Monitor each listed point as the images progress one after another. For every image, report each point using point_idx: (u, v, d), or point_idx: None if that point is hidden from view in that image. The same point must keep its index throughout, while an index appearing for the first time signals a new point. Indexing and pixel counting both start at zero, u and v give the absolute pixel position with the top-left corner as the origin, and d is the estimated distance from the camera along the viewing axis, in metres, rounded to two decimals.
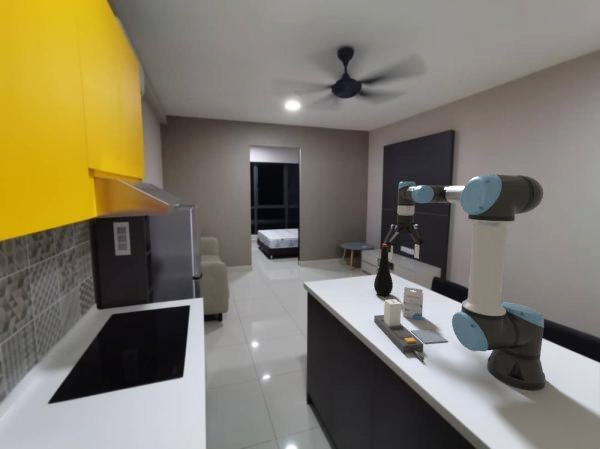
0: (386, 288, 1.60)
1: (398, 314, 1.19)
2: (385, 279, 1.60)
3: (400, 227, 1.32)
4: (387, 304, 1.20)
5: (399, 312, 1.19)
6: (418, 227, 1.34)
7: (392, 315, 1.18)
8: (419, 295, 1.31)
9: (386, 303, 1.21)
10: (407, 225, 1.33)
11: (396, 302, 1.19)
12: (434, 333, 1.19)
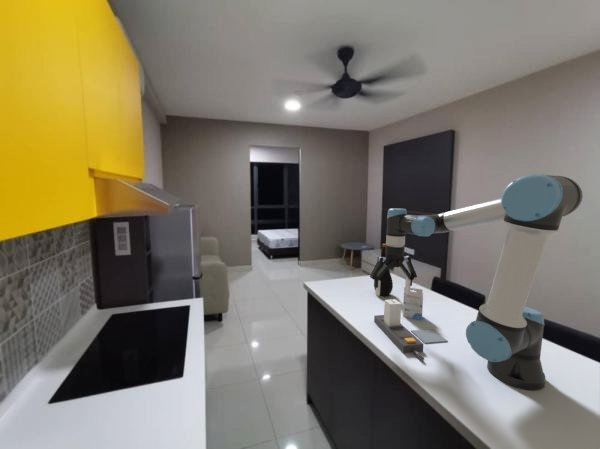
0: (386, 288, 1.60)
1: (398, 314, 1.19)
2: (385, 279, 1.60)
3: (389, 260, 1.17)
4: (387, 304, 1.20)
5: (399, 312, 1.19)
6: (409, 259, 1.18)
7: (392, 315, 1.18)
8: (419, 295, 1.31)
9: (386, 303, 1.21)
10: (397, 257, 1.17)
11: (396, 302, 1.19)
12: (434, 333, 1.19)
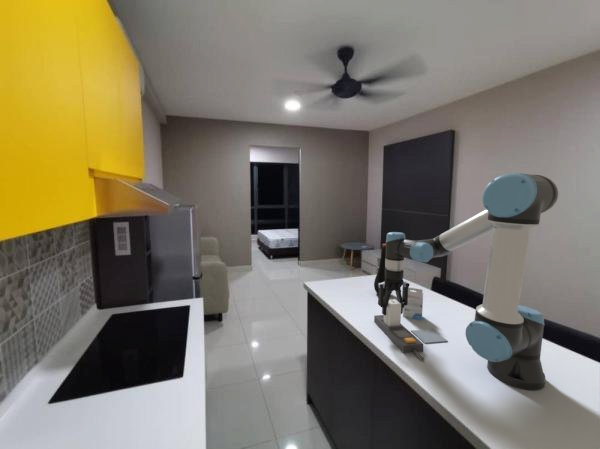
0: None
1: (398, 314, 1.19)
2: None
3: (388, 283, 1.18)
4: None
5: (399, 312, 1.19)
6: (407, 286, 1.19)
7: (392, 315, 1.18)
8: (419, 295, 1.31)
9: None
10: None
11: (396, 302, 1.19)
12: (434, 333, 1.19)
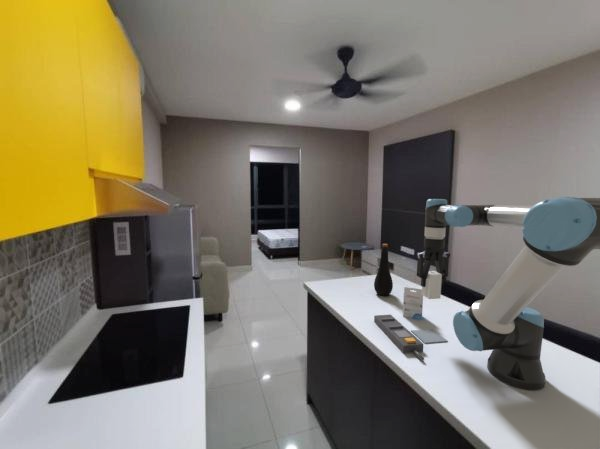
0: (386, 288, 1.60)
1: (438, 285, 1.12)
2: (385, 279, 1.60)
3: (428, 252, 1.11)
4: None
5: (440, 283, 1.12)
6: (448, 256, 1.13)
7: (432, 287, 1.12)
8: (419, 295, 1.31)
9: None
10: None
11: (436, 273, 1.13)
12: (434, 333, 1.19)
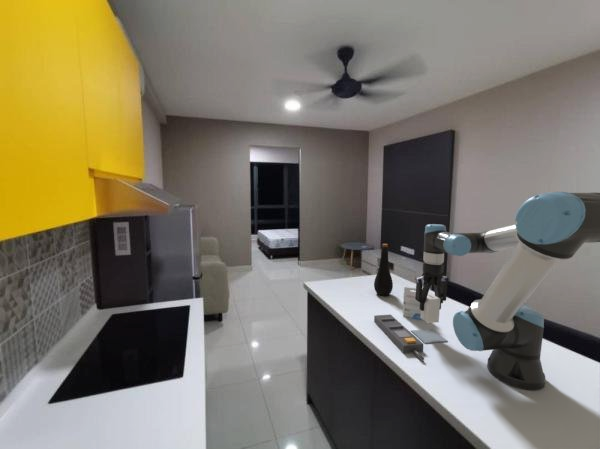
0: (386, 288, 1.60)
1: (437, 310, 1.13)
2: (385, 279, 1.60)
3: (427, 277, 1.13)
4: None
5: (438, 307, 1.13)
6: (446, 280, 1.14)
7: (430, 311, 1.13)
8: None
9: None
10: None
11: (434, 297, 1.14)
12: (434, 333, 1.19)
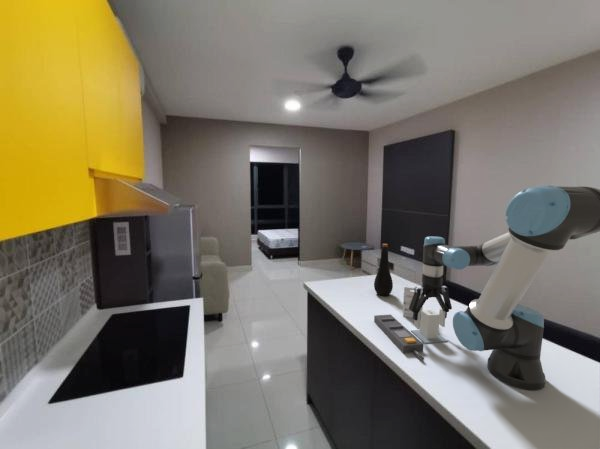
0: (386, 288, 1.60)
1: (436, 325, 1.14)
2: (385, 279, 1.60)
3: (426, 290, 1.13)
4: (424, 315, 1.15)
5: (437, 323, 1.14)
6: (447, 290, 1.14)
7: (430, 327, 1.14)
8: None
9: (423, 314, 1.16)
10: (435, 286, 1.13)
11: (434, 313, 1.15)
12: None
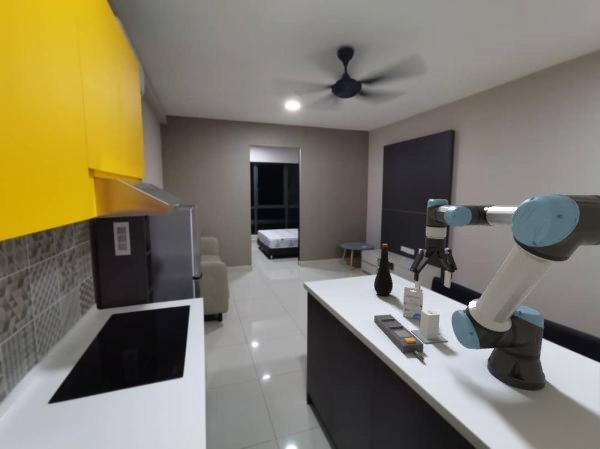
0: (386, 288, 1.60)
1: (436, 325, 1.14)
2: (385, 279, 1.60)
3: (430, 252, 1.13)
4: (424, 315, 1.15)
5: (437, 323, 1.14)
6: (450, 252, 1.15)
7: (430, 327, 1.14)
8: (419, 295, 1.31)
9: (423, 314, 1.16)
10: (437, 249, 1.14)
11: (434, 313, 1.15)
12: None
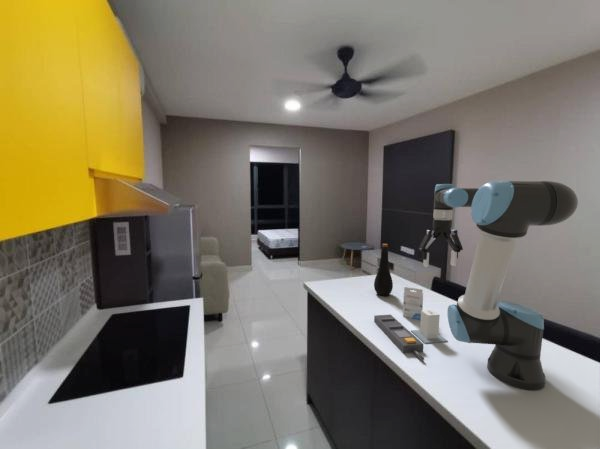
0: (386, 288, 1.60)
1: (436, 325, 1.14)
2: (385, 279, 1.60)
3: (437, 233, 1.23)
4: (424, 315, 1.15)
5: (437, 323, 1.14)
6: (456, 233, 1.25)
7: (430, 327, 1.14)
8: (419, 295, 1.31)
9: (423, 314, 1.16)
10: (444, 230, 1.24)
11: (434, 313, 1.15)
12: None
